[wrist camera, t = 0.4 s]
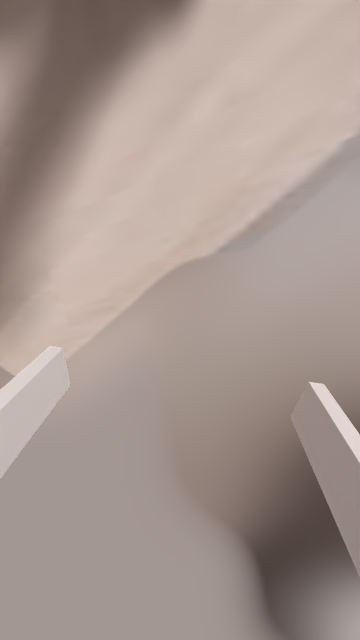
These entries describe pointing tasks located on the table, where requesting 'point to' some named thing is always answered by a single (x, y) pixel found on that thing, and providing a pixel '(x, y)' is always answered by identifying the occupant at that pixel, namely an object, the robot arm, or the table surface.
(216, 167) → the table surface
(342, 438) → the robot arm
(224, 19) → the table surface
